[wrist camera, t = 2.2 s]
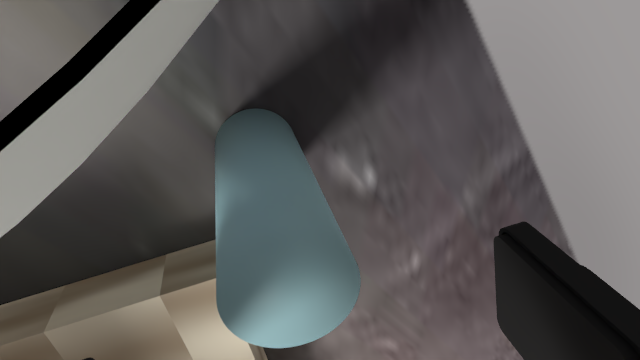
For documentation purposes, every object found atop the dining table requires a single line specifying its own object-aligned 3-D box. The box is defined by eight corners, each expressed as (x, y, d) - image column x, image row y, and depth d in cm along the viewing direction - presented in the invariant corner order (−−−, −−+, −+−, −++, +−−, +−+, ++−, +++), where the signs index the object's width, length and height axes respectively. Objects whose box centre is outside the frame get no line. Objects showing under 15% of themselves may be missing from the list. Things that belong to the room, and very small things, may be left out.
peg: (203, 121, 19) (194, 260, 10) (284, 98, 19) (346, 212, 10) (229, 192, 20) (241, 365, 11) (303, 170, 21) (370, 322, 12)
